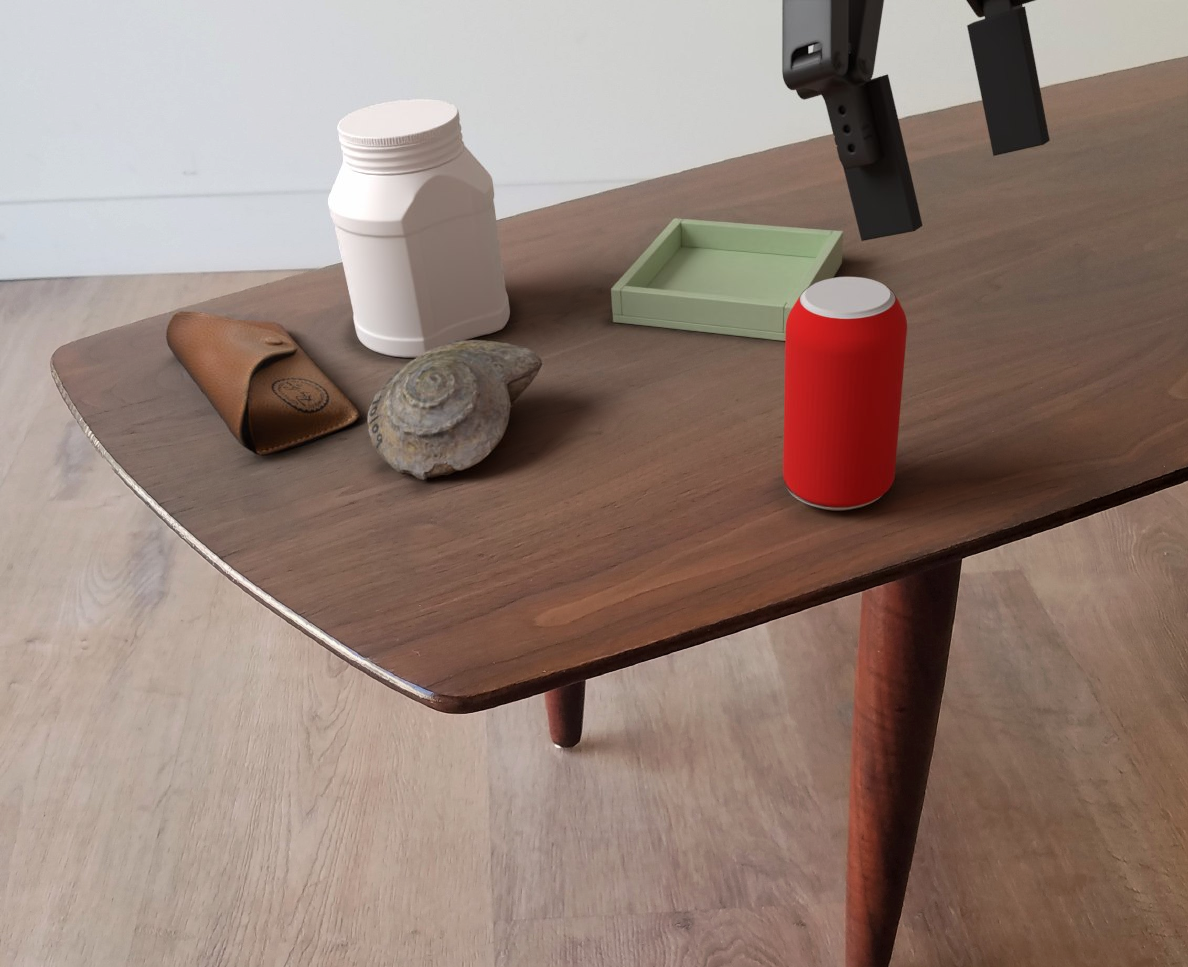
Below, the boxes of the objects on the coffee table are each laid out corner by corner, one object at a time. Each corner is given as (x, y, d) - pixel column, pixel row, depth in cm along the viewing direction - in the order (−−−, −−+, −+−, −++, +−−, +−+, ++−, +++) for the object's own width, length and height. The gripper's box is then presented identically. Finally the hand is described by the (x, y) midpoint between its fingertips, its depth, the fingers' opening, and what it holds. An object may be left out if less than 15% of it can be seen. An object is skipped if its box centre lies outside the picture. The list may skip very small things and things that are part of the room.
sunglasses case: (370, 413, 80) (301, 349, 75) (296, 490, 80) (222, 431, 75) (278, 321, 93) (214, 261, 88) (213, 388, 93) (146, 331, 88)
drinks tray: (842, 263, 94) (843, 230, 93) (794, 342, 85) (795, 307, 83) (675, 249, 99) (674, 217, 97) (612, 322, 89) (610, 289, 88)
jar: (467, 280, 97) (437, 84, 88) (532, 319, 91) (507, 111, 82) (336, 326, 92) (290, 123, 83) (395, 370, 86) (352, 155, 77)
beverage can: (767, 473, 72) (769, 281, 65) (867, 453, 73) (880, 261, 65) (805, 530, 67) (811, 329, 60) (911, 508, 68) (930, 307, 61)
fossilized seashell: (339, 407, 79) (361, 310, 75) (478, 404, 85) (506, 314, 81) (411, 505, 73) (440, 405, 69) (555, 494, 79) (589, 401, 75)
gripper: (915, -297, 61) (1000, 134, 69) (598, -255, 46) (754, 288, 54) (1062, -375, 55) (1136, 102, 63) (757, -356, 41) (904, 263, 49)
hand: (961, 189), depth 59 cm, fingers open, 13 cm apart
